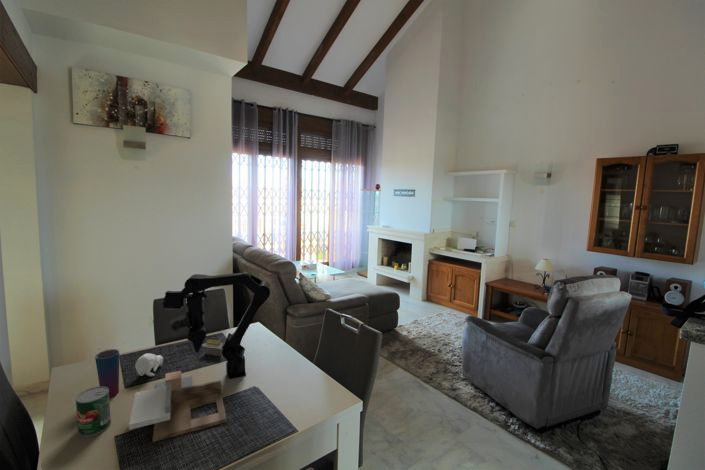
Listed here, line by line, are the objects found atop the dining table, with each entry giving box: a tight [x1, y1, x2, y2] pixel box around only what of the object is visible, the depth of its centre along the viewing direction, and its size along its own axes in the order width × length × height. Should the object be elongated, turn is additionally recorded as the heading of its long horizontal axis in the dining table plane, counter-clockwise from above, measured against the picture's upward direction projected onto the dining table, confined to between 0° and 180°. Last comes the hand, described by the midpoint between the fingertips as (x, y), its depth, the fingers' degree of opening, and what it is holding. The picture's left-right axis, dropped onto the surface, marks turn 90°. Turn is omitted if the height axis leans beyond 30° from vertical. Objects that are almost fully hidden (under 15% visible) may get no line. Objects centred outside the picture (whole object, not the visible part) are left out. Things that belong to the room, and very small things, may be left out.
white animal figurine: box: [134, 353, 164, 377], centre depth 132 cm, size 6×8×12 cm
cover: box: [128, 382, 171, 431], centre depth 102 cm, size 10×16×4 cm, turn 27°
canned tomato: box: [75, 386, 112, 438], centre depth 100 cm, size 8×8×11 cm
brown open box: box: [152, 379, 227, 443], centre depth 107 cm, size 20×16×6 cm
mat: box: [155, 375, 193, 388], centre depth 121 cm, size 12×12×1 cm
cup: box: [94, 348, 120, 399], centre depth 117 cm, size 7×7×15 cm
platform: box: [201, 339, 224, 357], centre depth 147 cm, size 12×18×7 cm, turn 77°
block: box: [164, 370, 183, 390], centre depth 121 cm, size 5×5×5 cm
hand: (196, 347), depth 129 cm, fingers open, 9 cm apart
